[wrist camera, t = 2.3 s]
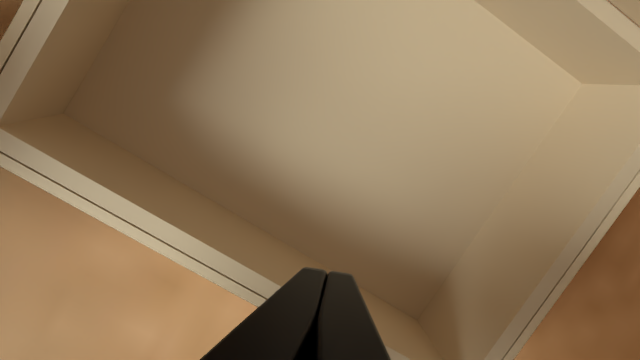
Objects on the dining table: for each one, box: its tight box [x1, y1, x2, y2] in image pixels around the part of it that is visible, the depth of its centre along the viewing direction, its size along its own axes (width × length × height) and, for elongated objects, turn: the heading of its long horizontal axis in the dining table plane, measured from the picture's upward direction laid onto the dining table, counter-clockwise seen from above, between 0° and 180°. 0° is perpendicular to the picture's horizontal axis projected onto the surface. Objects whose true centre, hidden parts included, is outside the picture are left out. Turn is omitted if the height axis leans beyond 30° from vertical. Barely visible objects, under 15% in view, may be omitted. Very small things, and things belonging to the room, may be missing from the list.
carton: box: [0, 0, 640, 360], centre depth 16 cm, size 12×17×5 cm
